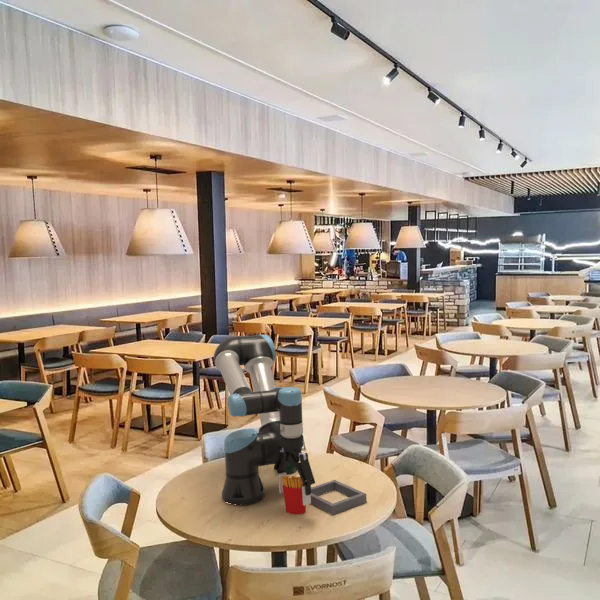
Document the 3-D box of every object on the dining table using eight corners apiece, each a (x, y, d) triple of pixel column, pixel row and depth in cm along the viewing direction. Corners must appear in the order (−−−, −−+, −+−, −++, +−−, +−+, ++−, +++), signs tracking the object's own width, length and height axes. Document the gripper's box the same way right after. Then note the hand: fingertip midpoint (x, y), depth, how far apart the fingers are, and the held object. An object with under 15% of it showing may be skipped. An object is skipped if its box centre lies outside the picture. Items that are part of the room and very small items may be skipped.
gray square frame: (301, 499, 203) (301, 490, 202) (334, 487, 211) (334, 479, 211) (332, 515, 189) (332, 506, 189) (366, 502, 198) (366, 493, 197)
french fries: (309, 510, 193) (307, 475, 192) (305, 515, 190) (303, 479, 189) (285, 507, 196) (284, 473, 196) (281, 512, 193) (279, 477, 192)
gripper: (261, 429, 199) (265, 490, 200) (305, 445, 179) (308, 512, 180) (280, 425, 203) (282, 484, 205) (324, 440, 183) (327, 506, 185)
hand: (294, 497), depth 192 cm, fingers open, 13 cm apart
